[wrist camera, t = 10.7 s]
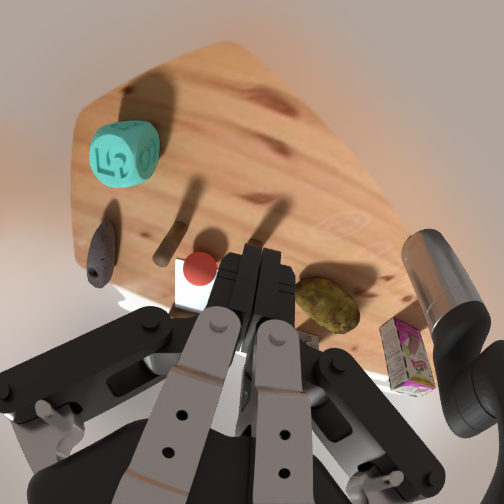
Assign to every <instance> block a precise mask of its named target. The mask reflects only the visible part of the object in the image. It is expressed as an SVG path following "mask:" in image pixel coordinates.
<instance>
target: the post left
mask: <svg viewBox="0 0 504 504" xmlns="http://www.w3.org/2000/svg"><path fill="white" fill-rule="evenodd" d="M186 232H187V226H186V225H185V224H184V223H183V222H179V221H178V222H175V223H174V224H173V226H172V227H171V229H170V230H169V232H168V233H167V235H166V236H165V238H164V239H163V241H162V243H161V244H160V246H159V247H158V249H157V250H156V252H155V253H154V255H153V261H154V263H155V264H156V265H158V266H160V267H166V266H167V265H168V264H169V262H170V260H171V258H172V256H173V255H174V253H175V251H176V249H177V248H178V246H179V244H180V242H181V240H182V239H183V237H184V235H185V234H186Z"/></svg>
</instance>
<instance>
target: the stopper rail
mask: <svg viewBox="0 0 504 504" xmlns="http://www.w3.org/2000/svg"><path fill="white" fill-rule="evenodd" d="M169 316H170V317H171V318H189V317H193V316H196V314H192V313H189V312H185V311H181V310H178V309H174V308H171V310H170V312H169Z"/></svg>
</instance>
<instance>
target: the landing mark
mask: <svg viewBox="0 0 504 504" xmlns="http://www.w3.org/2000/svg"><path fill="white" fill-rule="evenodd" d="M183 263H184V260H181V259H177V258H176V275H175V307H177V308H181V309H184V310H188V311H192V312H196V313H201V312H202V311H203V310H204V308H205V307H206V305H207V302H208V299H209V296H210V293H211V290H212V287H213V284H214V281H215V278H216V276H215V278H214V280H213V281H212V282H211V283H209V284H207V285H205V286H195V285H192V284H191V283H189V282H188V281H187V280H186V278H185V277H184V274H183ZM217 272H218V269H217ZM216 275H217V273H216Z"/></svg>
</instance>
